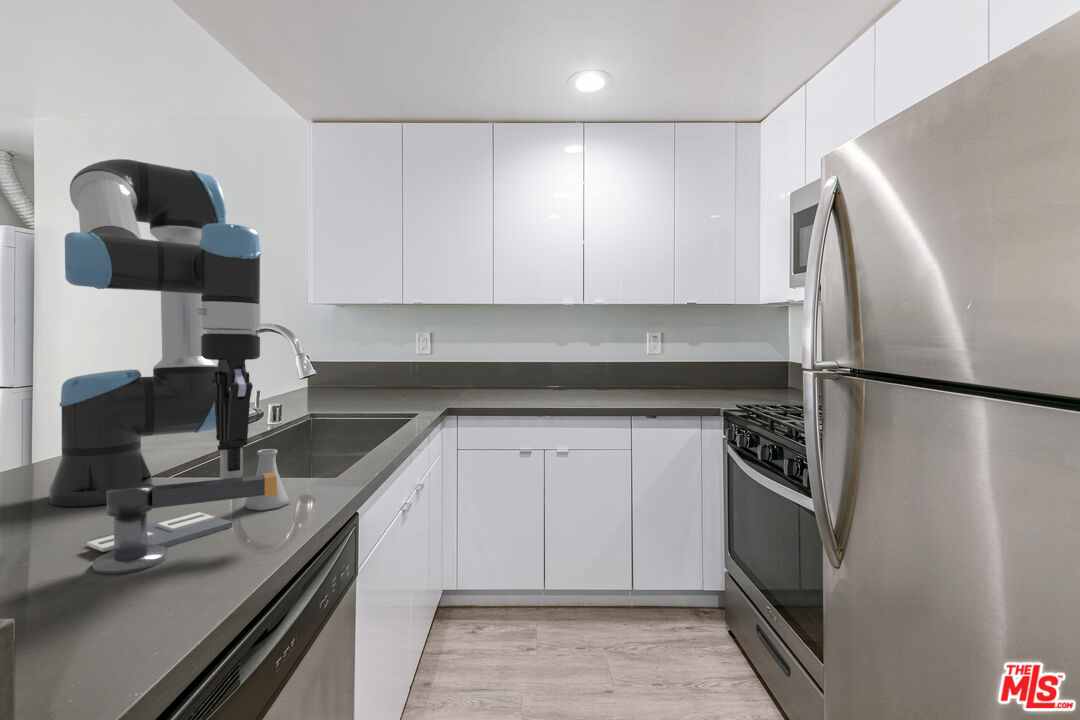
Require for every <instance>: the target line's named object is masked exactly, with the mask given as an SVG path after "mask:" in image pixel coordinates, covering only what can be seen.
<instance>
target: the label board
mask: <svg viewBox="0 0 1080 720" xmlns="http://www.w3.org/2000/svg"><path fill="white" fill-rule="evenodd" d="M232 527H233V521H231V520H228V519H224V518H221V517H217V516H214V515H210V514H207V513H205V512H198V511H192V512H189V513H185V514H182V515H181V514H180V515H178V516H174V517H170V518H167V519H166V518H165V519H162V520H158V521H156V522H155V521H154V522H151V523H147V538H148V545H149V546H148V547H150V546H151V545H160V546H164V547H166V548H169V547H171V546H174V545H178V544H180V543H184V542H188V541H191V540H194V539H198V538H200V537H204V536H207V535H210V534H214V533H216V532H221V531H223V530H227V529H229V528H232ZM86 546H87V547H89V548H92V549H95V550H97V551H99V552H102V553H103V552H104V553H105V552H106V553H109V552H111V551H114V532H113V533H110V534H105V535H101V536H98V537H94V538H90V539H89V540H88V541H87V542H86Z"/></svg>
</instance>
